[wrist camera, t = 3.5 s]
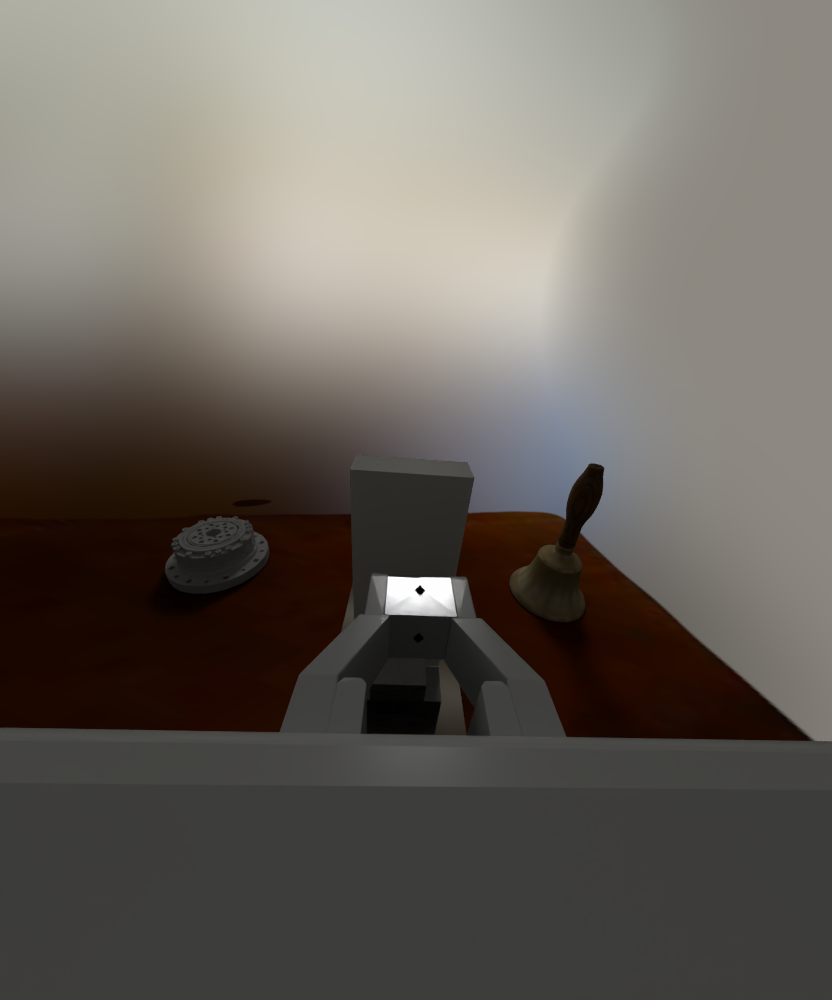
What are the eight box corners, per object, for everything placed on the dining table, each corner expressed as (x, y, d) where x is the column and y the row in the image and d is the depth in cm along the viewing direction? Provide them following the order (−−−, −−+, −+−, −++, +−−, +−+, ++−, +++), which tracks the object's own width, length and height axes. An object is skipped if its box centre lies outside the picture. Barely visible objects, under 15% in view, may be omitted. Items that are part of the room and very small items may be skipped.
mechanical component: (279, 573, 34) (259, 530, 41) (274, 542, 32) (253, 502, 39) (170, 611, 29) (167, 554, 36) (155, 576, 27) (155, 523, 34)
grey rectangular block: (438, 665, 22) (474, 477, 15) (355, 662, 22) (350, 469, 14) (434, 620, 25) (462, 450, 18) (362, 617, 25) (362, 442, 18)
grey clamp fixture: (430, 751, 20) (445, 685, 16) (353, 749, 19) (351, 682, 16) (419, 527, 42) (424, 479, 39) (384, 525, 42) (386, 477, 39)
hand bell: (600, 624, 32) (675, 488, 24) (522, 621, 31) (574, 481, 23) (564, 570, 39) (612, 452, 31) (500, 567, 38) (534, 446, 31)
